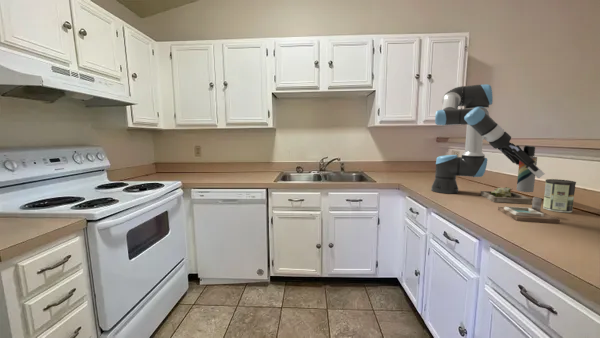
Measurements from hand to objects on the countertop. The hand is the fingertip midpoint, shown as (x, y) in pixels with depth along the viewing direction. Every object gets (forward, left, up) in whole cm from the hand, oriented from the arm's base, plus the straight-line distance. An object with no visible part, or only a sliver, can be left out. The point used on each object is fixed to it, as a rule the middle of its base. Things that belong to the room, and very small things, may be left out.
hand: (536, 174), depth 112 cm
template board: (0, -2, -19) cm, 19 cm away
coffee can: (-15, +18, -19) cm, 30 cm away
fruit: (-35, +3, -19) cm, 40 cm away
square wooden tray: (-33, +4, -19) cm, 38 cm away
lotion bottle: (0, -4, -8) cm, 8 cm away
